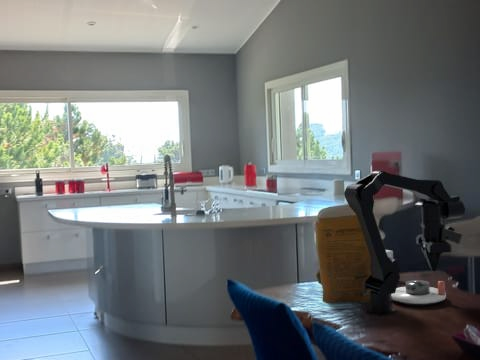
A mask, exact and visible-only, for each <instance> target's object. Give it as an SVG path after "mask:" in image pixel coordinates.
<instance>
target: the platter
mask: <svg viewBox="0 0 480 360" xmlns="http://www.w3.org/2000/svg"><path fill="white" fill-rule="evenodd" d="M429 287H430V294H428V295H422V296H415V295H409V294H407V293H406V286H401V287H397V288H396V292H395V293H393V294H391V296H392V301H396V302H398V301H399V303H400V302H404V303H413V304H426V303H435V302H437V303H440V302H442V301H444V300H445V299H446V298H447V292H446V283H445V281H443V280H438V281H437V288H436V287H432V286H429ZM435 304H436V303H435Z"/></svg>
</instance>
